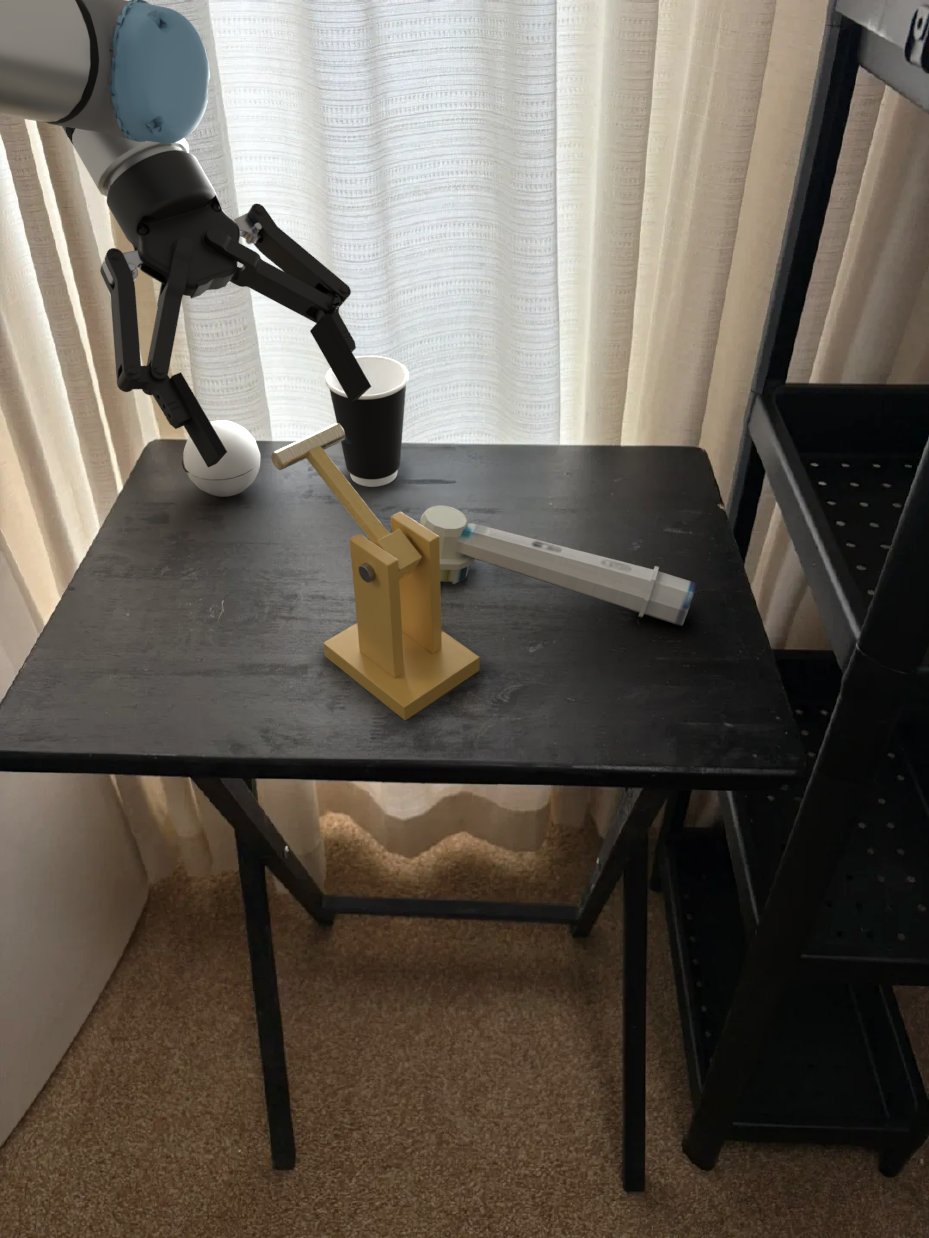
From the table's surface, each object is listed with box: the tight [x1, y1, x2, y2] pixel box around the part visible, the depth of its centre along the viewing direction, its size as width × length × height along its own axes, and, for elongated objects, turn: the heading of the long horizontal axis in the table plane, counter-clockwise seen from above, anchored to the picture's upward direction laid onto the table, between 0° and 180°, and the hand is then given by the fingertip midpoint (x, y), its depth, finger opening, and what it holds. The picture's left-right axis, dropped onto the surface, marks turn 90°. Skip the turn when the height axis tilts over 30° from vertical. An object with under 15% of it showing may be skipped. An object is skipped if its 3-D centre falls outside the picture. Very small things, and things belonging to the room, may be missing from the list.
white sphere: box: [181, 419, 261, 498], centre depth 100 cm, size 10×7×7 cm
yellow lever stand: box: [322, 511, 481, 721], centre depth 81 cm, size 10×8×13 cm
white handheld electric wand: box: [418, 505, 697, 627], centre depth 90 cm, size 5×7×25 cm
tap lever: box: [270, 422, 422, 580], centre depth 79 cm, size 13×6×2 cm, turn 45°
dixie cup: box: [324, 355, 410, 488], centre depth 102 cm, size 8×8×11 cm
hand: (292, 426), depth 80 cm, fingers open, 13 cm apart
